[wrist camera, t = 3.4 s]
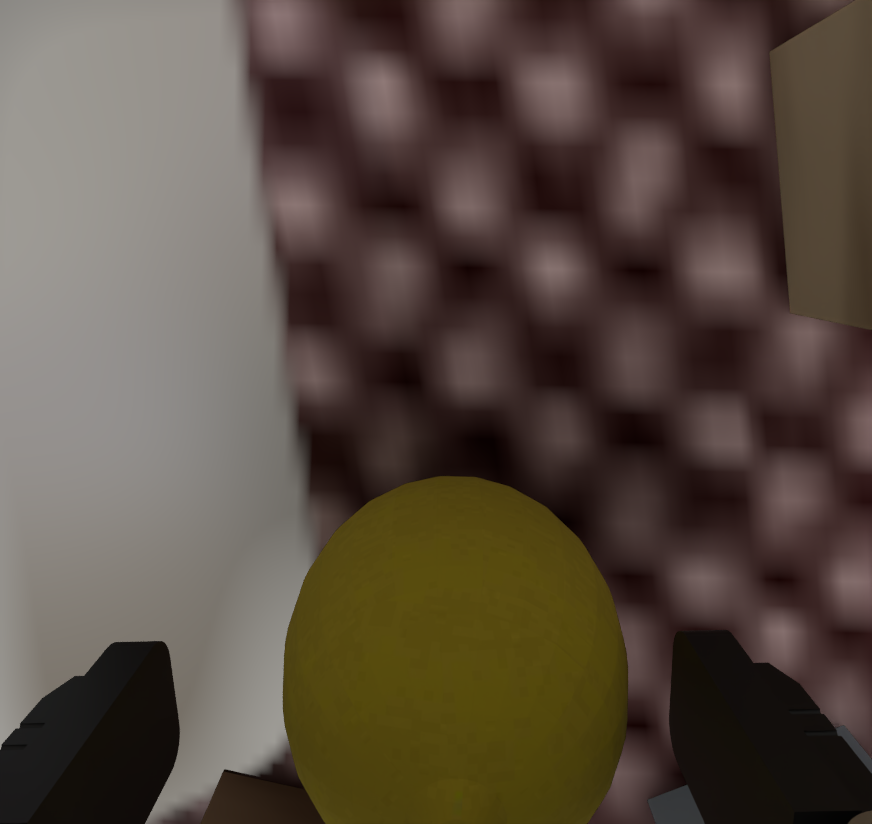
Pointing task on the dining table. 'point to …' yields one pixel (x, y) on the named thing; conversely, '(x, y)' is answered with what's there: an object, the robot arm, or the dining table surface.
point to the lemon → (455, 664)
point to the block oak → (827, 165)
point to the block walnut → (258, 802)
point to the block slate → (680, 811)
